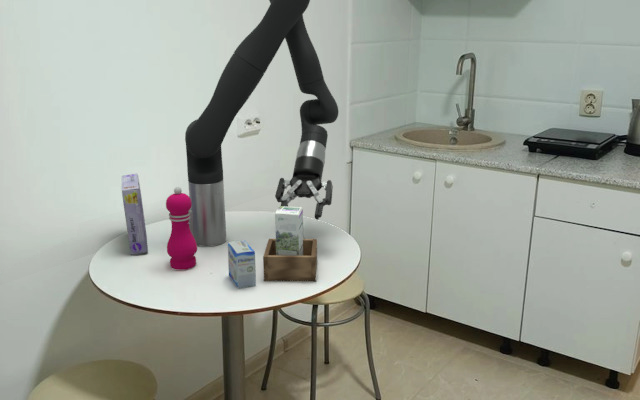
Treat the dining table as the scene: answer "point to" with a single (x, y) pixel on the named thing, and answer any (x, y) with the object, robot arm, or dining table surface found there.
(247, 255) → the medicine box
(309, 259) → the open wooden box
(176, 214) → the pepper mill
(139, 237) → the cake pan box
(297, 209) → the syrup box
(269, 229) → the dining table surface
